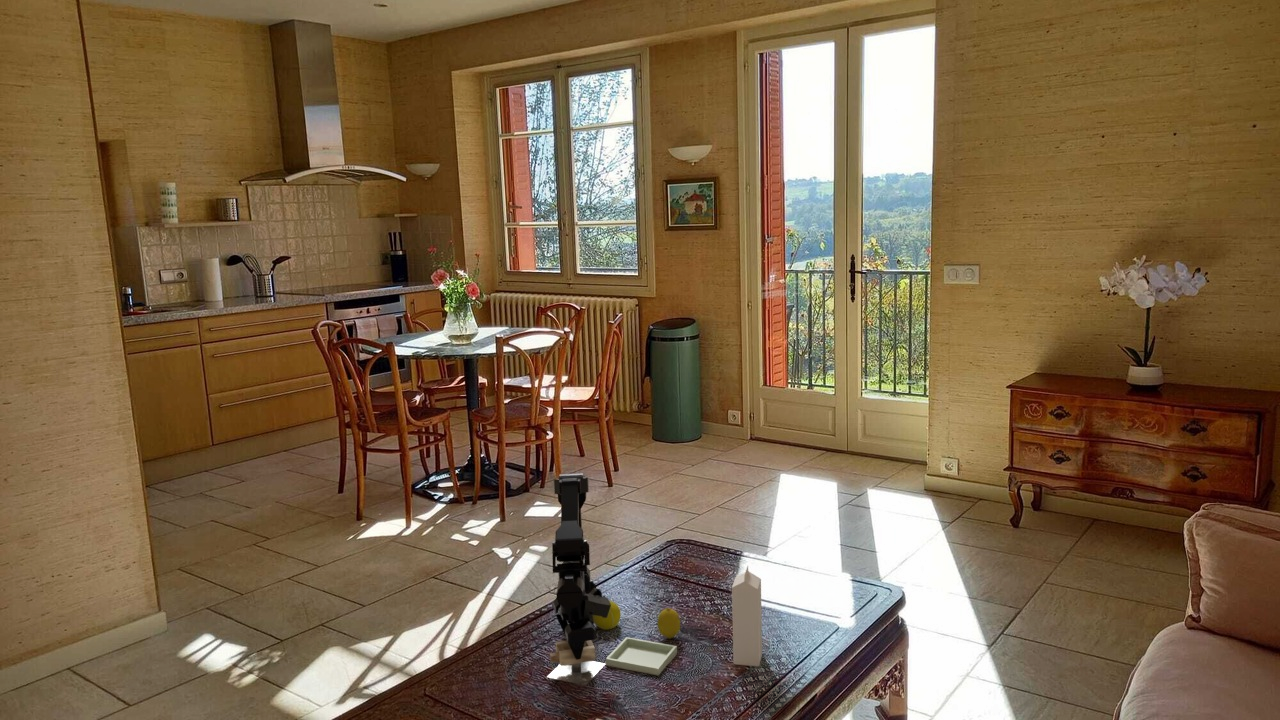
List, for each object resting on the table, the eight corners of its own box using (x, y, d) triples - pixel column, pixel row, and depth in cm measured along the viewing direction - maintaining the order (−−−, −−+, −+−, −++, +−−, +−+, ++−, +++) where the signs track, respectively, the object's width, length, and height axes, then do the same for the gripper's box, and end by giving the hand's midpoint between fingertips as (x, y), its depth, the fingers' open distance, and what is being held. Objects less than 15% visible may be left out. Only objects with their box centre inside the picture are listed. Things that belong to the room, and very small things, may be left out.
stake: (546, 678, 206) (545, 659, 205) (567, 657, 214) (566, 639, 214) (585, 686, 201) (584, 667, 201) (605, 665, 210) (604, 646, 210)
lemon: (678, 644, 219) (677, 613, 217) (656, 643, 220) (655, 612, 218) (682, 634, 224) (681, 603, 223) (660, 632, 225) (659, 602, 224)
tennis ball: (616, 635, 225) (614, 609, 223) (589, 632, 227) (588, 606, 225) (624, 623, 231) (623, 597, 230) (598, 620, 233) (597, 594, 232)
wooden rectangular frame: (590, 648, 211) (589, 636, 210) (595, 660, 206) (594, 647, 205) (548, 655, 208) (547, 643, 208) (553, 667, 203) (552, 655, 203)
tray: (606, 666, 210) (605, 658, 209) (626, 644, 220) (626, 637, 219) (658, 677, 204) (658, 668, 204) (677, 653, 214) (676, 646, 214)
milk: (733, 664, 209) (730, 574, 205) (737, 651, 214) (734, 564, 210) (759, 666, 207) (757, 576, 203) (762, 653, 213) (760, 565, 209)
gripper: (616, 600, 198) (619, 666, 200) (597, 568, 215) (600, 629, 218) (566, 608, 195) (570, 675, 197) (551, 575, 212) (554, 636, 215)
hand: (575, 652), depth 207 cm, fingers closed on wooden rectangular frame, 6 cm apart
